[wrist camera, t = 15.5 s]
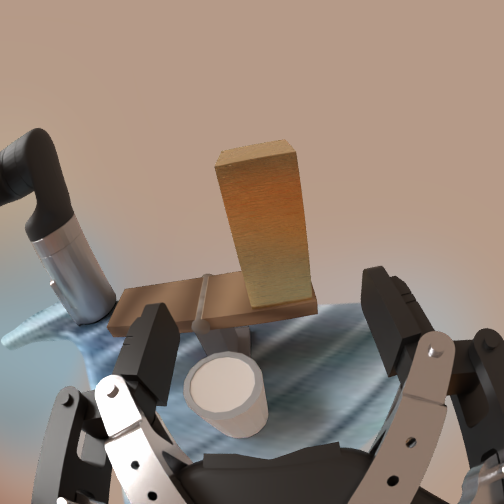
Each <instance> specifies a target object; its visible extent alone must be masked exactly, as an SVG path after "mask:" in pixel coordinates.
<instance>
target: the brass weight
mask: <svg viewBox="0 0 504 504" xmlns="http://www.w3.org/2000/svg"><path fill="white" fill-rule="evenodd" d="M215 171H216V175H217V179H218V182H219V186H220V190H221V194H222V198H223V202H224V206H225V210H226V213H227V217H228V221H229V225H230V229H231V233H232V236H233V240H234V244H235V247H236V251H237V255H238V259H239V263H240V266H241V270H242V274H243V278H244V281H245V285H246V289H247V292H248V296H249V300H250V303H251V307H252V310H253V309H260V308H266V307H273V306H279V305H285V304H291V303H296V302H302V301H307V300H312V289H311V276H310V264H309V253H308V243H307V235H306V234H307V233H306V224H305V215H304V207H303V199H302V191H301V183H300V176H299V169H298V162H297V155H296V151H295V150H294V149H293V148H292V146H290V144H289V143H288V142H287V141H286V140H278V141H272V142H266V143H260V144H255V145H249V146H245V147H239V148H234V149H230V150H225V151H222V152H221V154H220V156H219V158H218V160H217V162H216V164H215Z"/></svg>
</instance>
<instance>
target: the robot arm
mask: <svg viewBox="0 0 504 504" xmlns="http://www.w3.org/2000/svg"><path fill="white" fill-rule="evenodd" d="M33 191H34V192H35V195H36V199H37V205H36V208H35V211H34V213H33V214H32V216H31V217H30V218H29V220H28V222H27V223H26V225H25V230H26V233H27V235H28V237H29V239H30V241H31V243H32V245H33V247H34V249H35V251H36V253H37V255H38V257H39V258H40V260H41V262H42V264H43V266H44V268H45V269H46V271H47V273H48V274H49V276H50V278H51V282H50V285H51V287H52V289H53V290H54V292H55V293H56V295H57V297H58V298H59V300H60V301H61V303H62V304H63V306H64V307H65V309H66V310H67V312H68V313H69V314H70V316H71V317H72V319H73V320H74V321H75V323H76V324H77V325H80V324H89V323H93V322H96V321H98V320H100V319H101V318H103V317H104V316H105V315H106V314H108V313H109V311H110V310H111V309H112V308H113V306H114V304H115V302H116V294H115V293H114V291H113V289H112V287H111V285H110V284H109V282H108V280H107V279H106V277H105V275H104V273H103V271H102V270H101V268H100V266H99V264H98V262H97V260H96V258H95V256H94V254H93V252H92V250H91V248H90V246H89V244H88V242H87V240H86V238H85V236H84V234H83V232H82V230H81V227H80V225H79V223H78V221H77V218H76V216H75V214H74V211H73V209H72V206H71V203H70V197H69V193H68V190H67V186H66V184H65V181H64V177H63V174H62V170H61V167H60V163H59V159H58V156H57V152H56V149H55V146H54V144H53V141H52V140H51V137H50V136H49V134H48V133H47V132H46V131H45V130H43V129H41V128H35V129H33V130H31V131H29V132H27V133H26V134H24V135H23V136H22V137H20V138H18V139H17V140H16V141H14V142H13V143H12V144H10V145H9V146H7V147H6V148H5V149H3V150H2V151H1V152H0V206H2V205H5V204H7V203H10V202H13V201H15V200H18V199H21V198H23V197H25V196H27V195H28V194H30V193H32V192H33ZM361 306H362V311H363V313H364V316H365V318H366V321H367V323H368V325H369V328H370V330H371V333H372V335H373V338H374V340H375V343H376V345H377V348H378V351H379V353H380V356H381V359H382V361H383V364H384V367H385V369H386V372H387V375H388V377H391V376H395V375H398V378H399V381H400V386H399V388H398V391H397V394H396V396H395V399H394V401H393V403H392V406H391V408H390V411H389V413H388V415H387V417H386V420H385V422H384V424H383V426H382V428H381V430H380V432H379V433H378V435H377V437H376V439H375V441H374V443H373V445H372V447H371V449H370V450H369V452H368V453H367V452H364V451H362V450H357V449H353V448H340V445H339V442H335V443H330V444H325V445H319V446H313V447H307V448H303V449H301V450H298V451H295V452H292V453H290V454H287V455H284V456H281V457H278V458H275V459H270V460H268V459H261V458H255V457H249V456H244V455H239V454H204V458H203V460H201V461H198V462H195V463H193V462H192V461H191V460H190V459H189V457H188V456H187V455H186V454H185V453H184V452H183V451H182V450H181V449H180V448H179V446H178V445H177V443H176V442H175V440H174V439H173V437H172V436H171V434H170V432H169V431H168V429H167V427H166V426H165V424H164V422H163V421H162V419H161V417H160V415H159V414H158V413H157V412H156V411H155V410H156V406H167V401H168V395H169V390H170V385H171V380H172V375H173V370H174V365H175V361H176V356H177V351H178V347H179V342H180V333H179V329H178V326H177V325H176V323H175V321H174V319H173V317H172V315H171V314H170V312H169V310H168V308H167V306H166V304H165V303H163V302H161V303H153V304H146V305H145V307H144V309H143V312H142V314H141V317H137V318H136V320H135V321H134V322H133V323H132V325H131V326H130V328H129V330H128V333H127V335H126V338H125V340H124V343H123V346H122V348H121V351H120V354H119V356H118V359H117V362H116V365H115V367H114V370H113V373H112V375H110V376H107V377H105V378H104V379H102V380H101V381H100V383H99V384H98V386H97V388H96V390H92V391H87V392H84V393H81V392H80V391H78V390H77V389H76V388H75V387H73V386H68V387H65V388H63V389H62V390H61V391H60V392H59V393H58V395H57V397H56V400H55V402H54V405H53V408H52V412H51V415H50V418H49V421H48V425H47V428H46V432H45V436H44V439H43V443H42V447H41V451H40V456H39V460H38V466H37V470H36V476H35V481H34V487H33V494H32V502H31V504H108V501H109V489H110V481H111V472H112V466H113V468H114V470H115V472H116V474H117V477H118V479H119V481H120V483H121V485H122V487H123V489H124V491H125V493H126V495H127V497H128V499H129V500H130V502H131V504H449V503H447V502H446V501H444V500H442V499H440V498H438V497H437V496H435V495H433V494H432V493H430V492H428V491H427V490H425V489H423V488H421V487H420V486H419V485H420V483H421V481H422V479H423V477H424V475H425V472H426V470H427V468H428V466H429V463H430V460H431V458H432V455H433V453H434V450H435V448H436V445H437V442H438V439H439V436H440V434H441V430H442V427H443V424H444V421H445V417H446V413H447V406H446V405H445V398H446V396H448V395H450V397H451V400H452V403H453V406H454V409H455V412H456V415H457V419H458V422H459V425H460V429H461V432H462V436H463V440H464V443H465V448H466V452H467V456H468V461H469V465H470V470H469V472H468V473H467V475H466V476H465V478H464V481H463V484H462V491H463V492H462V496H461V499H460V502H459V503H458V504H504V340H503V339H502V337H501V336H500V335H499V333H497V332H496V331H494V330H492V329H488V328H485V329H481V330H479V331H478V332H477V333H476V335H475V337H474V339H473V340H460V341H452V339H451V338H450V337H449V336H448V335H446V334H444V333H442V332H438V331H435V330H434V329H433V327H432V326H431V323H430V322H429V320H428V318H427V317H426V315H425V313H424V312H423V310H422V308H421V307H420V305H419V303H418V302H416V299H415V297H414V296H413V294H411V291H410V289H409V288H408V286H407V285H406V283H405V282H404V281H402V280H401V279H399V278H398V277H397V276H392V277H389V275H388V274H387V272H386V270H385V269H384V267H382V266H378V267H372V268H367V269H364V270H363V276H362V290H361ZM81 430H83V431H84V432H86V435H85V440H84V445H83V450H82V455H81V459H80V458H79V457H78V455H77V446H78V441H79V437H80V432H81Z"/></svg>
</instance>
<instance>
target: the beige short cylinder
mask: <svg viewBox="0 0 504 504" xmlns="http://www.w3.org/2000/svg"><path fill="white" fill-rule="evenodd" d="M183 395H184V398H185V400H186V403H187V405H188V407H189V408H191V409H192V410H193V411H194V412H195V413H196V414H197V415H199V416H200V417H201V418H203V419H204V420H205V421H207V422H208V423H209V424H211V425H212V426H213V427H215V428H216V429H218V430H219V431H221V432H222V433H223V434H225V435H226V436H229V437H233V438H237V439H238V438H247V437H250V436H252V435H254V434H256V433H258V432H259V431H260V430H261V429H262V428H263V427H264V426H265V425H266V422H267V419H268V416H269V414H268V407H267V401H266V395H265V389H264V383H263V377H262V371H261V369H260V368H259V367H258V365H257V364H256V362H255V361H254V360H253V359H251V358H249V357H248V356H246V355H244V354H242V353H236V352H230V351H227V352H221V353H214V354H212V355H210V356H208V357H206V358H204V359H202V360H200V361H199V362H198V363H197V364H196V365H195V366H194V367H193V368H191V369H190V371H189V373H188V375H187V377H186V379H185V381H184V389H183Z"/></svg>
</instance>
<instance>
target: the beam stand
mask: <svg viewBox="0 0 504 504" xmlns="http://www.w3.org/2000/svg"><path fill="white" fill-rule="evenodd" d="M195 334H196V335H197V337H198V339H199V341H200V343H201V345H202V347H203V349H204V350H205V352H206V354H207V357H208V356H210V355H212V354H214V353H221V352H227V351H230V352H236V353H242V354H244V355H246V356H248V357H249V358H251V344H250V329H249V326H248V327H240V328H235V327H232V328H224V329H215V330H210V331H209V332H208V333H207V334H203V335H201V334H197V333H195Z"/></svg>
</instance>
